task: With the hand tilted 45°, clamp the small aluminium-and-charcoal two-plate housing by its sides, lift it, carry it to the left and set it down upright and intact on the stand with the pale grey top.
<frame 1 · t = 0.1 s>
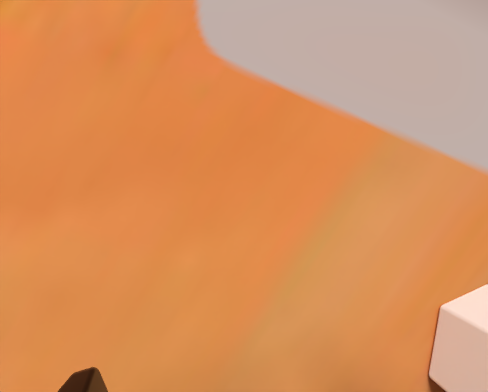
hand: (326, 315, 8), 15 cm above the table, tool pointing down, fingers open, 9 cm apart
jar: (486, 343, 27), on the table
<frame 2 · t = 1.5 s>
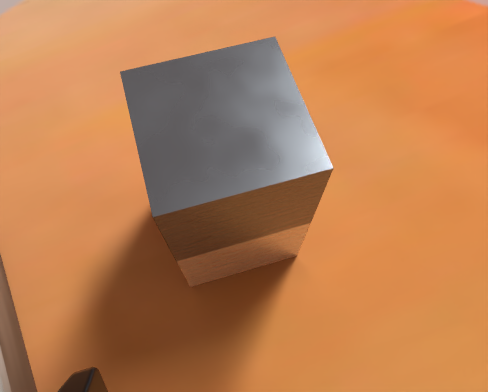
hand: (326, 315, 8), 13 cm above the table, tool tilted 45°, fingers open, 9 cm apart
housing: (229, 221, 23), on the table
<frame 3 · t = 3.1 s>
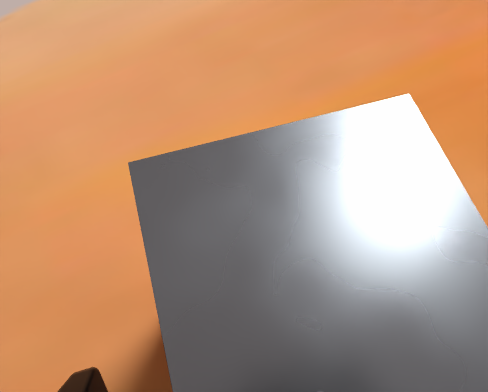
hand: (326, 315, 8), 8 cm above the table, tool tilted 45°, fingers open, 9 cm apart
housing: (282, 337, 16), on the table
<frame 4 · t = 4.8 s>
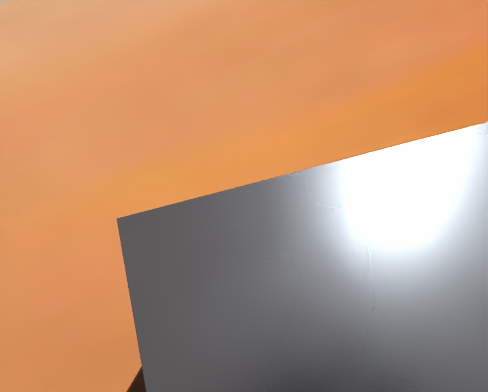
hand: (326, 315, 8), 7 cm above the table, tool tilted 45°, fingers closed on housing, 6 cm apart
housing: (305, 391, 14), on the table, touching gripper
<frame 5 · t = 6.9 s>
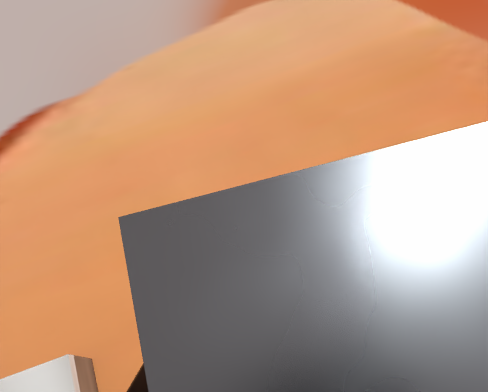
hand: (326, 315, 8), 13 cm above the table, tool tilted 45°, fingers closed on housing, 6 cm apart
housing: (306, 390, 14), point 7 cm above the table, touching gripper
when the fingers open (11 cm above the table, at t = 9.5 s): housing drops 1 cm, resting on stand.
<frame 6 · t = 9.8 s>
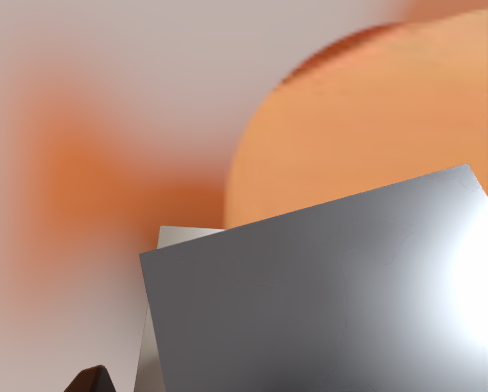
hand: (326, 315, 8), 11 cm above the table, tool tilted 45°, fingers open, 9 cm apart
housing: (299, 390, 15), point 3 cm above the table, touching stand
stand: (291, 390, 18), on the table
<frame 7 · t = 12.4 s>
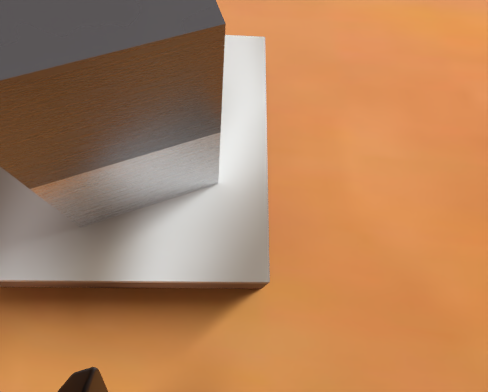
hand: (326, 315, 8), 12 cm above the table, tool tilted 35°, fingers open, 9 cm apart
housing: (132, 143, 18), point 3 cm above the table, touching stand
stand: (143, 168, 21), on the table
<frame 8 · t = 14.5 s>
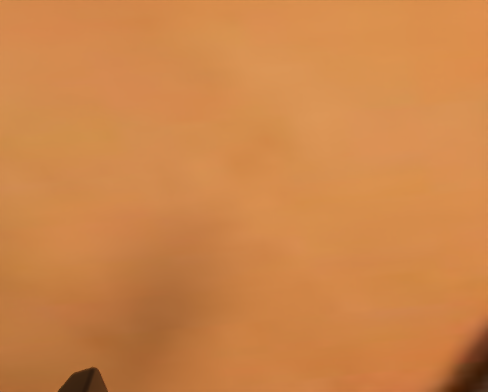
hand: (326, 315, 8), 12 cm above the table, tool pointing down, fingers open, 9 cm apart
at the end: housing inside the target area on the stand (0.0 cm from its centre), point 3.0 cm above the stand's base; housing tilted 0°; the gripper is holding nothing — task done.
